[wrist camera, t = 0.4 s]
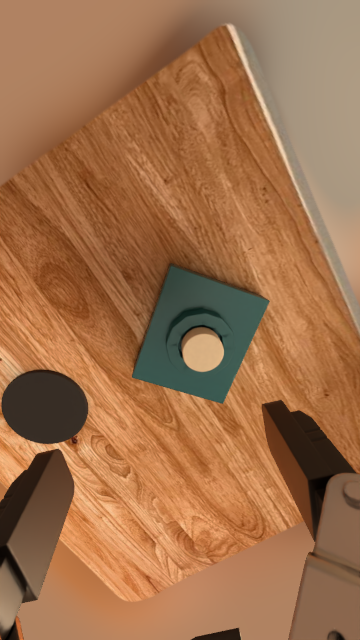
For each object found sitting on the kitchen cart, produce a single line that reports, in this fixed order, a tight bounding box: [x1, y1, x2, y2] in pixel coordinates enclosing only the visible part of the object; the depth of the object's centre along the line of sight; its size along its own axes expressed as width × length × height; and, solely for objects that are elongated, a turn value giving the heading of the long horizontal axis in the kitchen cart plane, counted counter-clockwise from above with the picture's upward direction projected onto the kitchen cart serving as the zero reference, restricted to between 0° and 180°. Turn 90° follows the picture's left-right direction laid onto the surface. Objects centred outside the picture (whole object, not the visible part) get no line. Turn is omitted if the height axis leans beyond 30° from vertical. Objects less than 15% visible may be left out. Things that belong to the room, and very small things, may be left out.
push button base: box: [132, 263, 269, 404], centre depth 31 cm, size 13×11×4 cm
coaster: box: [2, 370, 88, 444], centre depth 35 cm, size 10×10×1 cm
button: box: [181, 327, 224, 372], centre depth 28 cm, size 4×4×2 cm
